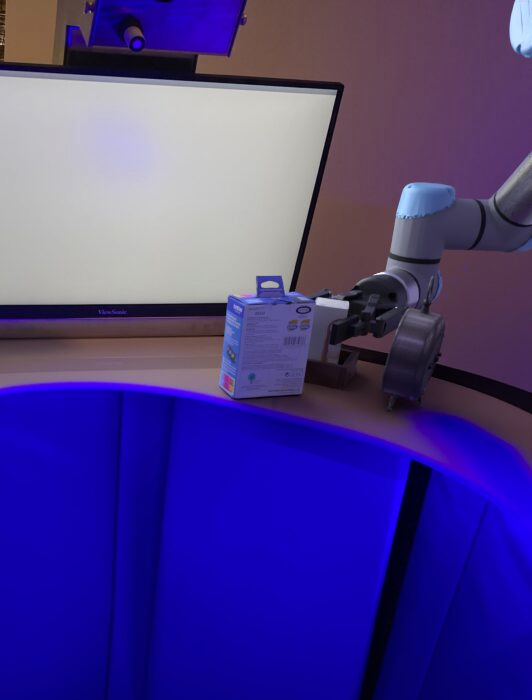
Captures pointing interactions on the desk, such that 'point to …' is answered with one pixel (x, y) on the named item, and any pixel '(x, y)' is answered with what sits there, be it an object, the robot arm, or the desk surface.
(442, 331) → the alarm clock
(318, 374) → the holder
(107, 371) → the desk surface
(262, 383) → the ink cartridge box
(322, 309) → the white box
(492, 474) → the desk surface
